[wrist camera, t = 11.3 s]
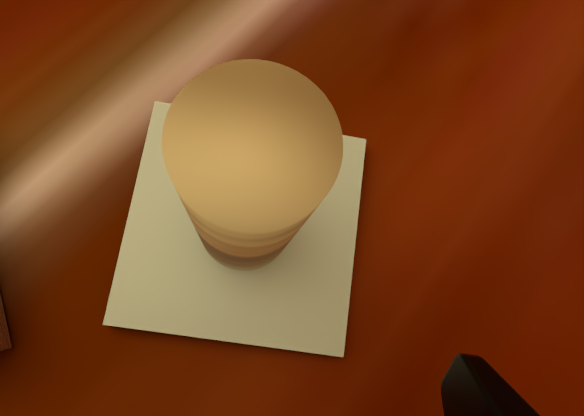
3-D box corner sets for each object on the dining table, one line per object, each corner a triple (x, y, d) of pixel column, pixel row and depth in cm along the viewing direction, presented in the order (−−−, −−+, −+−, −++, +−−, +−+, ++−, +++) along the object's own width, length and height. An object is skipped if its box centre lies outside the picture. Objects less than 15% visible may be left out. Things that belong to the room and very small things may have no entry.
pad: (340, 355, 19) (343, 357, 19) (106, 324, 18) (102, 324, 18) (362, 143, 22) (366, 139, 21) (157, 106, 21) (154, 101, 20)
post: (283, 276, 19) (332, 242, 9) (190, 262, 19) (143, 213, 9) (295, 188, 20) (351, 77, 10) (207, 174, 20) (181, 44, 10)
